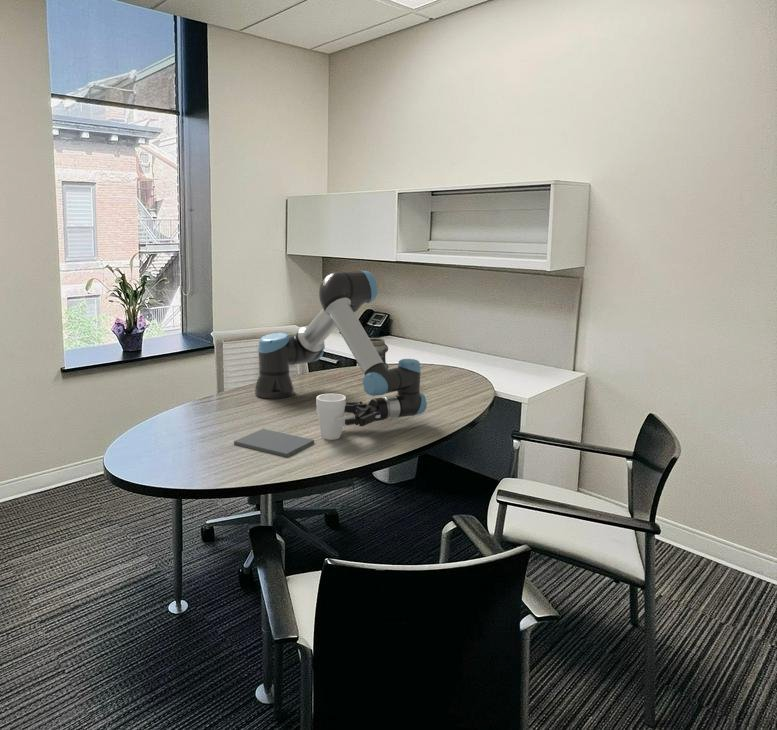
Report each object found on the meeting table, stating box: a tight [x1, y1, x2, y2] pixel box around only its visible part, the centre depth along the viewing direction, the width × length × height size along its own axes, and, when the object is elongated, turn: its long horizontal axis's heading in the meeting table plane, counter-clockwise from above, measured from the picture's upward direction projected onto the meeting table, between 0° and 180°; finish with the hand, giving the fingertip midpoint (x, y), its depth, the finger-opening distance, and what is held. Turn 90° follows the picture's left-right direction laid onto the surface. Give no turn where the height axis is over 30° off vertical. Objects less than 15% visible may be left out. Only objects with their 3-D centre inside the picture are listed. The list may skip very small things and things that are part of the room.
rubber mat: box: [233, 428, 315, 458], centre depth 198 cm, size 20×14×1 cm
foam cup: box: [315, 393, 347, 441], centre depth 204 cm, size 10×9×13 cm
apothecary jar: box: [360, 337, 389, 371], centre depth 276 cm, size 12×12×18 cm
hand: (325, 416), depth 203 cm, fingers open, 13 cm apart
